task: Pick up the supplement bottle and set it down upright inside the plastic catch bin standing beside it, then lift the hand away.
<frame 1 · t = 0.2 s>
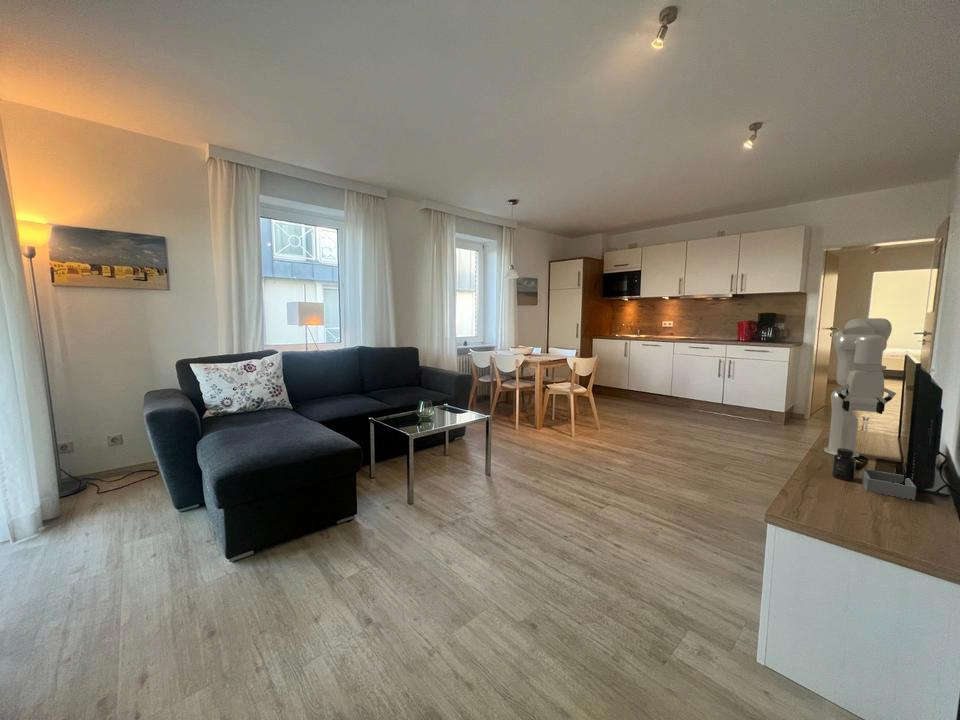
hand: (862, 411, 150), 30 cm above the table, tool pointing down, fingers open, 9 cm apart
catch bin: (886, 489, 150), on the table
supplement bottle: (842, 478, 161), on the table
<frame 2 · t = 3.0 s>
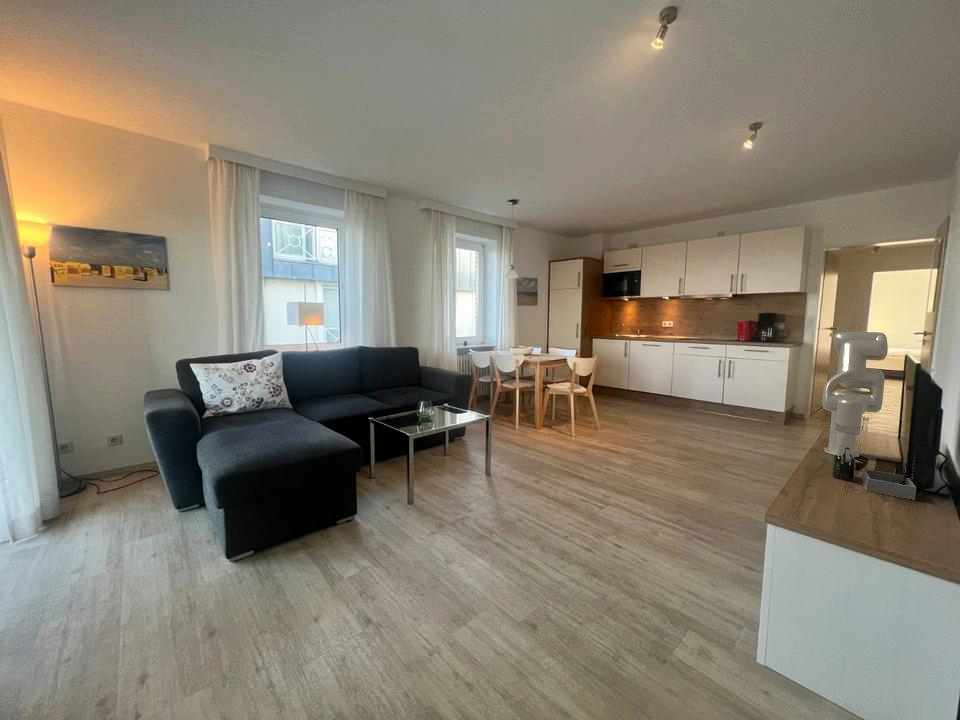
hand: (843, 470, 161), 3 cm above the table, tool pointing down, fingers closed on supplement bottle, 6 cm apart
supplement bottle: (842, 478, 161), on the table, touching gripper
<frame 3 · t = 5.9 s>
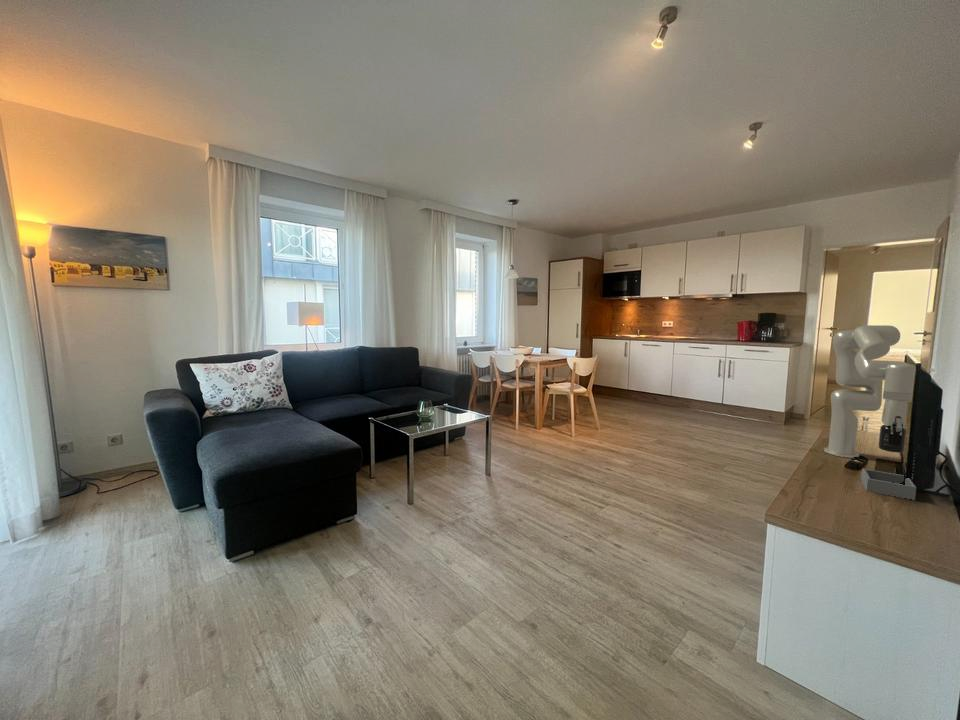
hand: (891, 441, 148), 19 cm above the table, tool pointing down, fingers closed on supplement bottle, 6 cm apart
supplement bottle: (890, 450, 148), point 16 cm above the table, touching gripper
when the fingers open (6 cm above the table, at t = 8.9 s): supplement bottle drops 1 cm, resting on catch bin.
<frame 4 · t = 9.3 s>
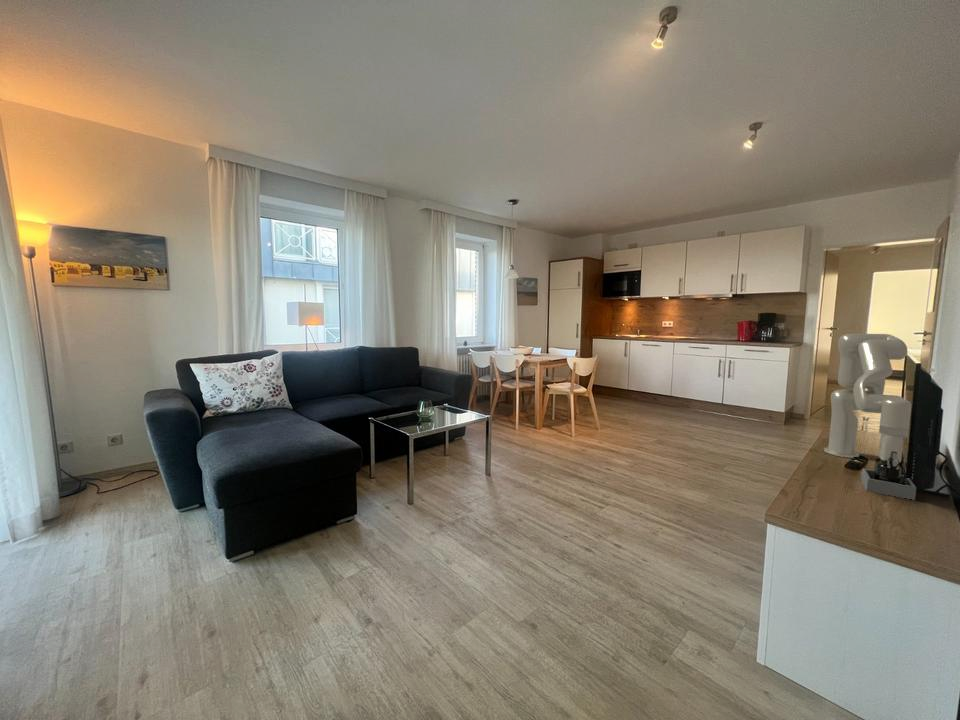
hand: (888, 474, 149), 6 cm above the table, tool pointing down, fingers open, 9 cm apart
supplement bottle: (886, 487, 150), point 1 cm above the table, touching catch bin
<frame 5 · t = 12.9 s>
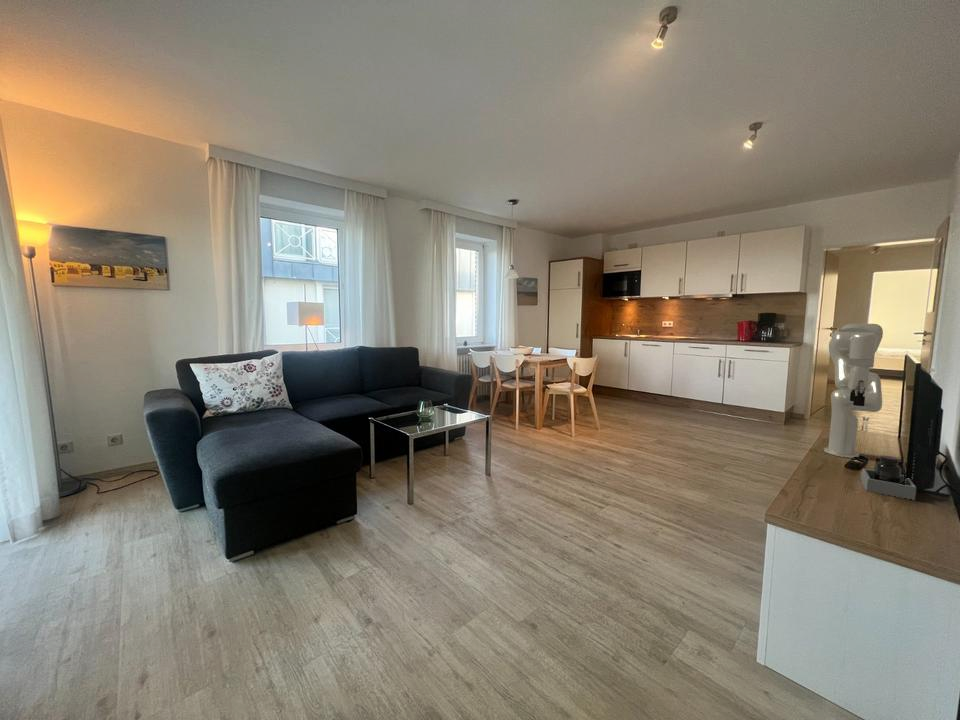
hand: (856, 403, 163), 30 cm above the table, tool pointing down, fingers open, 9 cm apart
nothing on the table moved.
at the end: supplement bottle 0.3 cm off-centre on the catch bin, point 0.6 cm above the catch bin's base; supplement bottle tilted 0°; the gripper is holding nothing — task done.
